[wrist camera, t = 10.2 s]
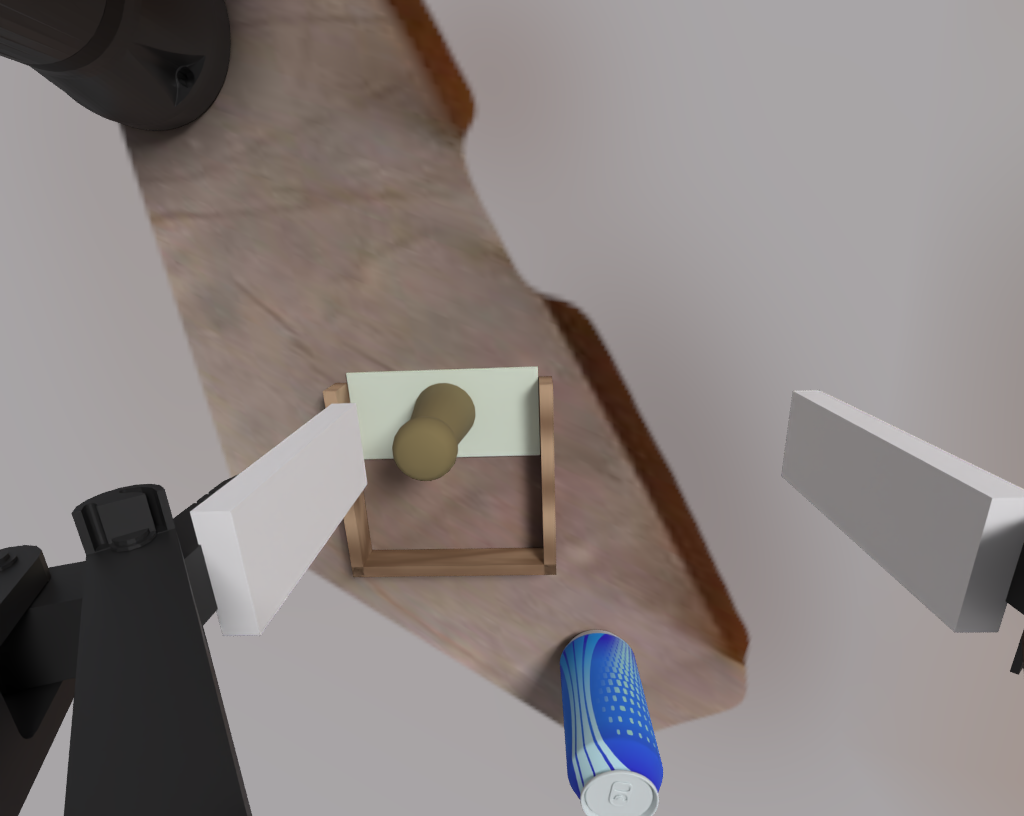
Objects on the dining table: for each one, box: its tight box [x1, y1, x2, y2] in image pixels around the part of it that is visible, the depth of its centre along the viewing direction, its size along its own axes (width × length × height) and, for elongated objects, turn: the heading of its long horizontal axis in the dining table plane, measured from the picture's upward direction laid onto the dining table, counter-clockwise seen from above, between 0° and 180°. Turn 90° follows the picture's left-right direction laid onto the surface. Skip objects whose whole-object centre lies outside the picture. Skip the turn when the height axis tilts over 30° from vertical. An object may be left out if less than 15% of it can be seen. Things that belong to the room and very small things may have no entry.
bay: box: [323, 376, 556, 577], centre depth 49 cm, size 20×21×3 cm
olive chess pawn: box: [392, 383, 476, 481], centre depth 43 cm, size 6×6×11 cm
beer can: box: [560, 630, 663, 816], centre depth 49 cm, size 8×8×16 cm
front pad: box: [346, 367, 540, 459], centre depth 48 cm, size 9×18×1 cm, turn 92°
